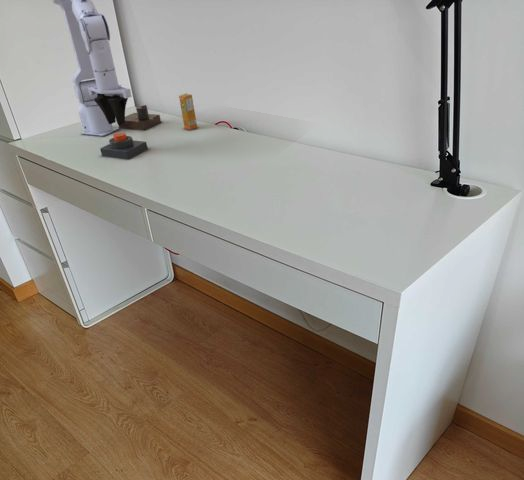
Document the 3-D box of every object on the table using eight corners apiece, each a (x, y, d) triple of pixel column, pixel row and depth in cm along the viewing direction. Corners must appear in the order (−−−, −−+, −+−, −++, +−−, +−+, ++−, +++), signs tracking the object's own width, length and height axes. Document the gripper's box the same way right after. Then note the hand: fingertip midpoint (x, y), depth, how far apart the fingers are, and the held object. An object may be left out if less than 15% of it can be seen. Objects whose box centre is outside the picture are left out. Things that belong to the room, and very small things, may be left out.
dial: (141, 120, 164) (139, 108, 161) (136, 118, 166) (133, 106, 163) (151, 118, 165) (148, 105, 163) (145, 116, 167) (143, 104, 165)
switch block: (101, 156, 146) (98, 141, 143) (121, 146, 152) (118, 132, 149) (128, 159, 142) (125, 144, 139) (147, 149, 148) (144, 135, 145)
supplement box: (183, 128, 162) (178, 95, 156) (191, 126, 164) (186, 93, 157) (189, 130, 160) (184, 96, 154) (197, 128, 162) (193, 94, 155)
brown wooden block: (118, 128, 168) (116, 119, 166) (135, 120, 174) (134, 112, 172) (147, 130, 163) (145, 122, 161) (164, 122, 169) (162, 114, 168)
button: (112, 142, 144) (110, 135, 143) (120, 138, 146) (118, 132, 145) (121, 143, 142) (120, 136, 141) (129, 139, 145) (128, 132, 144)
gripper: (134, 67, 132) (145, 122, 140) (96, 65, 138) (109, 117, 147) (115, 73, 127) (127, 129, 136) (77, 71, 134) (91, 124, 143)
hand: (116, 123), depth 141 cm, fingers open, 3 cm apart
